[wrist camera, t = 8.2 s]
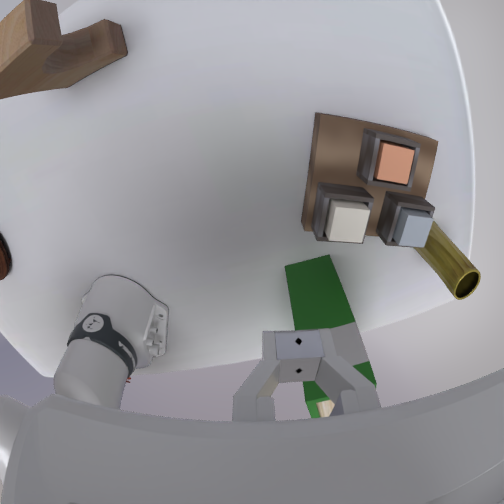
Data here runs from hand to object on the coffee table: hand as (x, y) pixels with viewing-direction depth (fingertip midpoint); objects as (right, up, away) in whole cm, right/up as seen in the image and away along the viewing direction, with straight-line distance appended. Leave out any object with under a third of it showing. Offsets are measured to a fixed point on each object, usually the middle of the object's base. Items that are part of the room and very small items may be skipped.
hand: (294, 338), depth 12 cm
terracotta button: (+15, +16, +19) cm, 29 cm away
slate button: (+20, +8, +23) cm, 31 cm away
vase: (+28, +7, +30) cm, 42 cm away
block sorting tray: (+15, +15, +25) cm, 33 cm away
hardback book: (+10, -4, +37) cm, 39 cm away
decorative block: (-24, +31, +15) cm, 42 cm away
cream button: (+10, +9, +23) cm, 26 cm away
